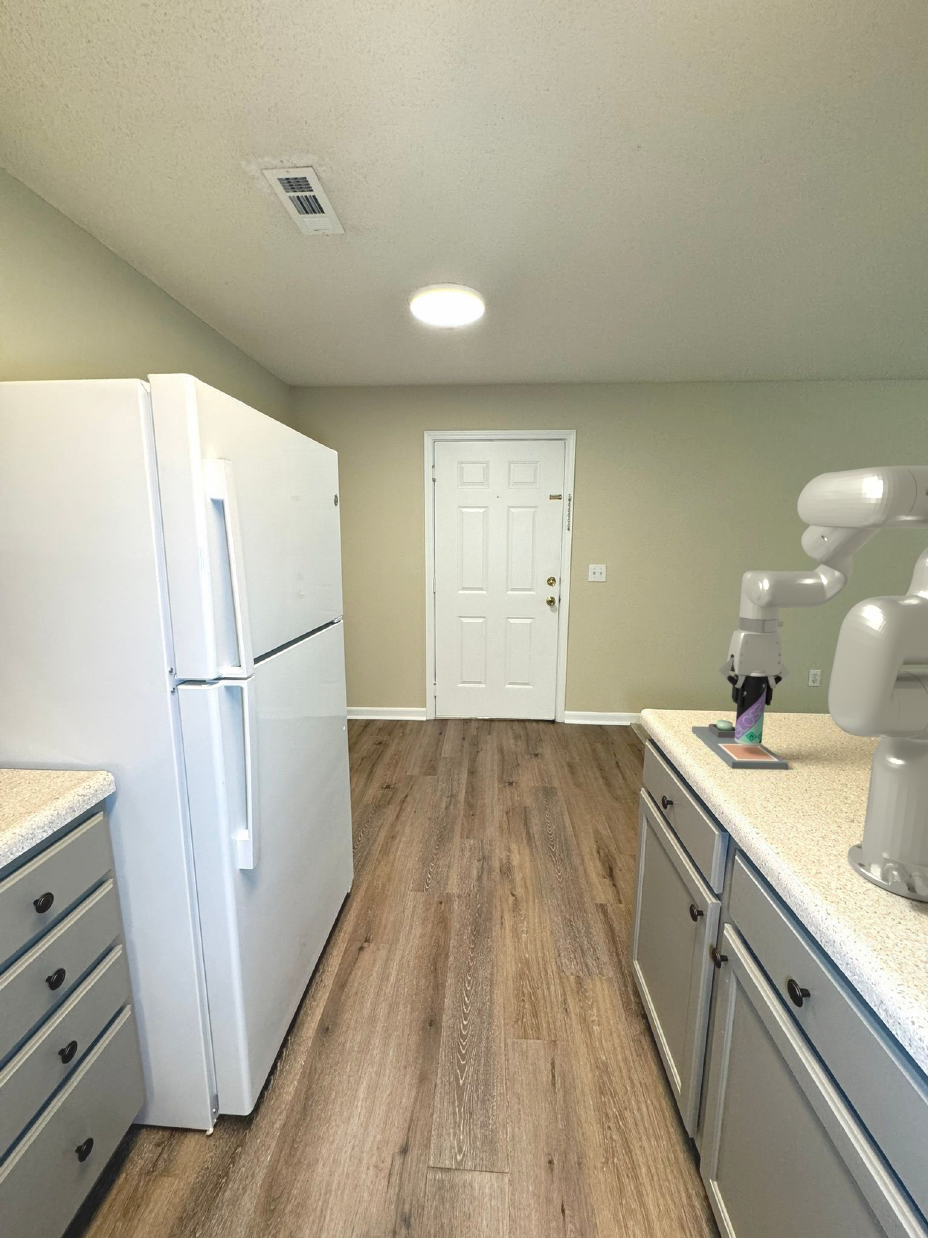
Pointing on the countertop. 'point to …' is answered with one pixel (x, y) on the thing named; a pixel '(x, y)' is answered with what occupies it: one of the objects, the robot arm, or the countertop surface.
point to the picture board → (738, 750)
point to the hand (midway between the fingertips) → (751, 702)
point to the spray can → (751, 710)
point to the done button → (724, 725)
